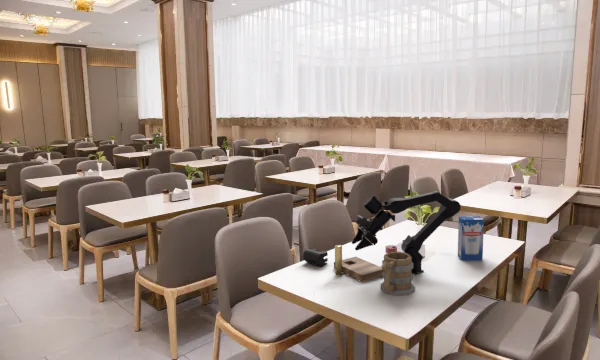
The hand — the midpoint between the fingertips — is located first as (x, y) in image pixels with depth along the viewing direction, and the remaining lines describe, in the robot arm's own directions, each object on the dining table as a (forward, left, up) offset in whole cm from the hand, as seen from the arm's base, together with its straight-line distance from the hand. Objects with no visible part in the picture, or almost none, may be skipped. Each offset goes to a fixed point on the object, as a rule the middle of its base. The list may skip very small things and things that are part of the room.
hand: (353, 246), depth 190 cm
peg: (+3, +6, -12) cm, 14 cm away
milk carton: (-18, -57, -13) cm, 61 cm away
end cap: (+20, +7, -13) cm, 25 cm away
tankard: (-25, 0, -13) cm, 28 cm away
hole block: (0, -3, -12) cm, 13 cm away
